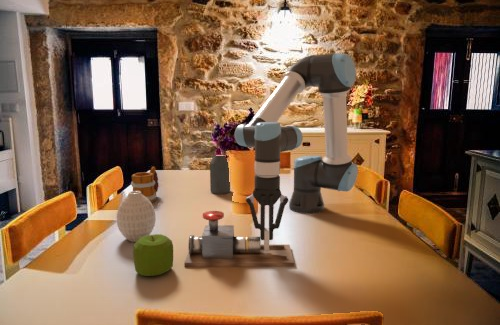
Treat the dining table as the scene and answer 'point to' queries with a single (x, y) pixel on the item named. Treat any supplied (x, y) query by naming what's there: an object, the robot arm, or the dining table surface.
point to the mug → (146, 183)
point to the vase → (135, 216)
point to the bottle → (219, 175)
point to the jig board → (247, 259)
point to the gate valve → (213, 239)
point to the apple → (153, 255)
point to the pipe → (246, 244)
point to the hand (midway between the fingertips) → (266, 249)
